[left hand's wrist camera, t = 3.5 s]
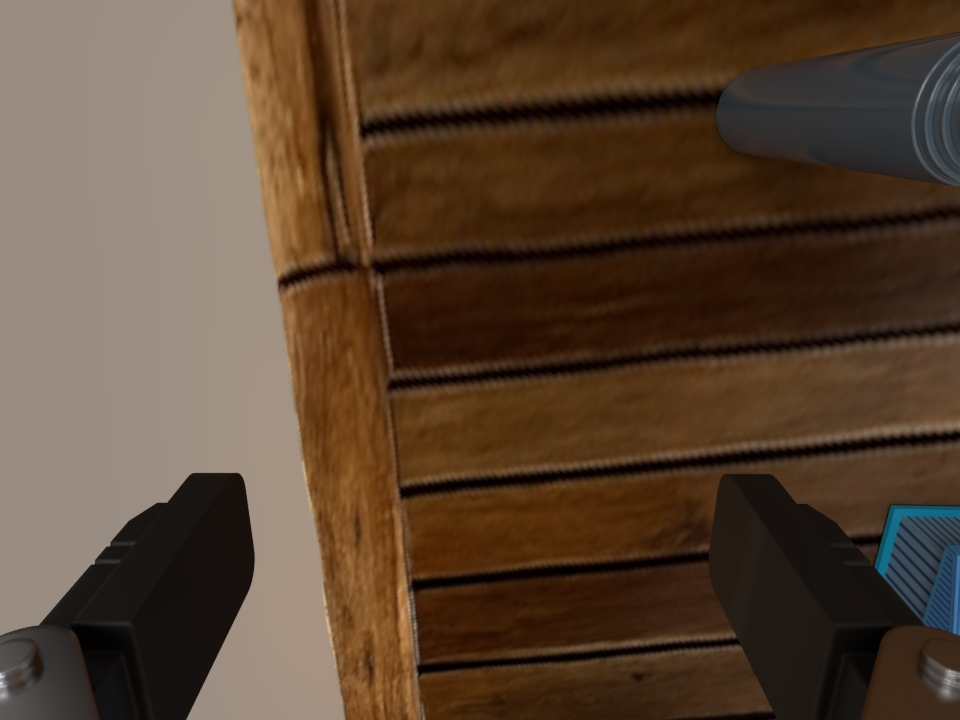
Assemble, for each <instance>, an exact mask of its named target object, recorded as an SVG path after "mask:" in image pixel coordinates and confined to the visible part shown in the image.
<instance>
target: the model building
mask: <svg viewBox="0 0 960 720" xmlns="http://www.w3.org/2000/svg"><path fill="white" fill-rule="evenodd" d="M875 568H876V569H877V571H878V572H879V573H880V574H881V575H882V576H883V577H884V579H885V580H886V581H887V582H888V583H889V584H890V586H891V587H892V588H893V589H894V590H895V591H896V592H897V594H898V595H899V596H900V597H901V598H902V599H903V600H904V602H905V603H906V604H907V605H908V606H909V607H910V608H911V610H912V611H913V612H914V613H915V614H916V615H917V617H918V618H919V619H920V620H921V621H922V622H923V623H924V625H925V626H929V627H934V628H938V629H942V630H945V631H948V632H951V633H954V634H956V635H959V636H960V506H907V505H891V507H890V511H889V515H888V518H887V522H886V526H885V530H884V533H883V537H882V541H881V544H880V548H879V552H878V556H877V559H876V563H875Z"/></svg>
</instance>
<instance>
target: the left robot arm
mask: <svg viewBox="0 0 960 720" xmlns="http://www.w3.org/2000/svg"><path fill="white" fill-rule="evenodd" d="M254 561H255V555H254V546H253V538H252V531H251V524H250V517H249V510H248V502H247V495H246V488H245V483H244V480H243V478H242V476H241V475H240V474H239V473H193V474H191V475H190V476H189V477H188V478H187V479H186V480H185V481H184V483H183V484H182V485H181V486H180V488H179V489H178V490H177V491H176V493H175V494H174V495H173V496H172V498H171V499H170V500H169V501H168V503H156V504H155V505H153V506H152V507H150V508H149V509H147V510H145V511H144V512H142V513H141V514H139V515H137V516H136V517H134V518H133V519H131V520H130V521H128V523H127V524H126V525H125V526H124V527H123V528H122V530H121V531H120V532H119V533H118V534H117V535H116V537H115V538H114V539H113V540H112V541H111V545H110V547H106V548H105V549H104V550H103V552H102V553H101V554H100V555H99V556H98V557H97V559H96V560H95V564H94V565H91V566H90V567H89V568H88V569H87V570H86V571H85V572H84V574H83V575H82V576H81V577H80V578H79V579H78V581H77V582H76V583H75V584H74V585H73V586H72V587H71V589H70V590H69V591H68V592H67V593H66V594H65V596H64V597H63V598H62V599H61V600H60V601H59V603H58V604H57V605H56V606H55V607H54V608H53V610H52V611H51V612H50V613H49V614H48V615H47V617H46V618H45V619H44V620H43V621H42V622H41V623H40V625H39V626H32V627H26V628H22V629H18V630H15V631H12V632H9V633H6V634H4V635H1V636H0V720H186V719H187V717H188V715H189V713H190V711H191V709H192V706H193V704H194V702H195V700H196V698H197V696H198V694H199V692H200V690H201V688H202V686H203V684H204V682H205V680H206V678H207V676H208V674H209V671H210V669H211V667H212V665H213V663H214V661H215V659H216V657H217V655H218V653H219V651H220V649H221V647H222V645H223V643H224V641H225V638H226V636H227V634H228V632H229V630H230V628H231V626H232V624H233V622H234V620H235V618H236V616H237V614H238V612H239V610H240V608H241V606H242V604H243V601H244V599H245V597H246V595H247V593H248V591H249V589H250V586H251V582H252V578H253V572H254ZM709 571H710V577H711V582H712V586H713V589H714V591H715V594H716V596H717V598H718V600H719V602H720V604H721V606H722V608H723V610H724V612H725V614H726V616H727V618H728V620H729V622H730V624H731V626H732V628H733V630H734V632H735V634H736V636H737V638H738V640H739V642H740V644H741V646H742V648H743V650H744V653H745V655H746V657H747V659H748V661H749V663H750V665H751V667H752V669H753V671H754V673H755V675H756V677H757V679H758V681H759V683H760V685H761V687H762V689H763V691H764V693H765V695H766V697H767V699H768V701H769V703H770V705H771V707H772V709H773V712H774V714H775V716H776V718H777V720H960V636H959V635H956V634H954V633H951V632H948V631H945V630H942V629H938V628H934V627H929V626H925V625H924V623H923V622H922V621H921V620H920V619H919V618H918V617H917V615H916V614H915V613H914V612H913V611H912V610H911V608H910V607H909V606H908V605H907V604H906V603H905V602H904V600H903V599H902V598H901V597H900V596H899V595H898V594H897V592H896V591H895V590H894V589H893V588H892V587H891V586H890V584H889V583H888V582H887V581H886V580H885V579H884V577H883V576H882V575H881V574H880V573H879V572H878V571H877V569H876V568H875V567H874V566H870V561H869V560H868V559H867V558H866V557H865V556H864V555H863V553H862V552H861V551H860V550H859V549H858V548H855V547H854V543H853V542H852V541H851V540H850V538H849V537H848V536H847V535H846V534H845V533H844V532H843V530H842V529H841V528H840V527H839V526H838V525H837V524H836V522H834V521H833V520H831V519H829V518H828V517H826V516H825V515H823V514H822V513H820V512H818V511H817V510H815V509H814V508H812V507H811V506H809V505H807V504H797V503H796V502H795V501H794V500H793V499H792V497H791V496H790V495H789V494H788V492H787V491H786V490H785V489H784V487H783V486H782V485H781V484H780V483H779V481H778V480H777V479H776V478H775V477H774V476H773V475H771V474H725V475H724V476H723V477H722V478H721V480H720V483H719V487H718V493H717V500H716V508H715V515H714V522H713V529H712V536H711V543H710V550H709Z"/></svg>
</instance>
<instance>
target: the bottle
mask: <svg viewBox="0 0 960 720" xmlns="http://www.w3.org/2000/svg"><path fill="white" fill-rule="evenodd" d="M716 120H717V127H718V131H719V133H720V136H721V137H722V139H723V140H724V142H725V143H726V144H727V145H728V146H729V147H730V148H731V149H733V150H734V151H736V152H739V153H741V154H745V155H752V156H758V157H765V158H772V159H778V160H785V161H792V162H798V163H805V164H811V165H818V166H825V167H831V168H838V169H845V170H851V171H858V172H864V173H871V174H878V175H884V176H891V177H898V178H904V179H911V180H917V181H924V182H931V183H937V184H944V185H951V186H957V187H960V32H956V33H951V34H945V35H939V36H933V37H927V38H922V39H916V40H910V41H904V42H898V43H892V44H887V45H881V46H875V47H869V48H863V49H858V50H852V51H846V52H840V53H834V54H829V55H823V56H817V57H811V58H805V59H799V60H794V61H788V62H782V63H776V64H770V65H765V66H759V67H754V68H751V69H748V70H746V71H744V72H742V73H740V74H739V75H738V76H736V77H735V78H734V79H733V80H732V81H731V82H730V83H729V84H728V85H727V87H726V88H725V90H724V91H723V93H722V95H721V97H720V100H719V103H718V107H717V113H716Z"/></svg>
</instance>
